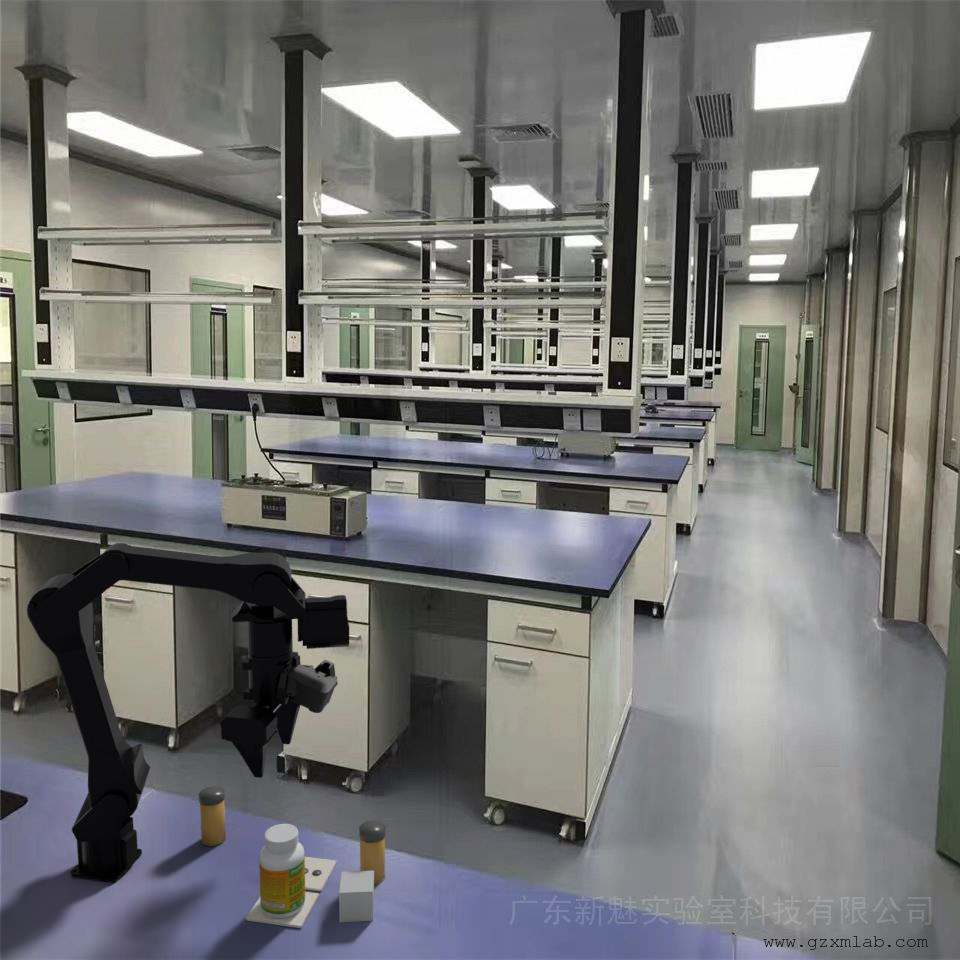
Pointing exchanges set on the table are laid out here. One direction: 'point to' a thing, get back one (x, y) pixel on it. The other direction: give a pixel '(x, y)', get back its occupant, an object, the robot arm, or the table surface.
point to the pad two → (291, 921)
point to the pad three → (317, 872)
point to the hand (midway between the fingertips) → (273, 759)
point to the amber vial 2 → (373, 848)
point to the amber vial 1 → (212, 815)
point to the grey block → (356, 896)
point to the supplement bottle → (282, 872)
